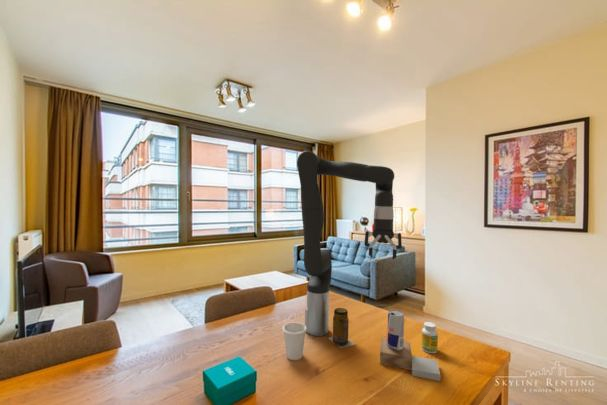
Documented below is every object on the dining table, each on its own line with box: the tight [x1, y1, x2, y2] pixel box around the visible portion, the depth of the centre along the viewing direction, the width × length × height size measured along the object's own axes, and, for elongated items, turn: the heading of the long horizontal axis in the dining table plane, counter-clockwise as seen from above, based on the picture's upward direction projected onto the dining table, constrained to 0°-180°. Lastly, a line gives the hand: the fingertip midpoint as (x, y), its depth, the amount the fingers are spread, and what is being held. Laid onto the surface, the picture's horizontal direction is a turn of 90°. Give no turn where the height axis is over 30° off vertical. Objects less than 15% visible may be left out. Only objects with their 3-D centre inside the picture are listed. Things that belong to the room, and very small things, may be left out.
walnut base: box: [379, 337, 413, 371], centre depth 96 cm, size 10×10×4 cm
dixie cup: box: [282, 321, 307, 361], centre depth 97 cm, size 8×8×10 cm
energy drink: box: [386, 309, 405, 351], centre depth 96 cm, size 5×5×12 cm
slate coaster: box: [411, 355, 441, 382], centre depth 89 cm, size 8×8×2 cm
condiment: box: [327, 307, 356, 349], centre depth 107 cm, size 7×8×12 cm
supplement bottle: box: [421, 321, 439, 354], centre depth 101 cm, size 5×5×10 cm
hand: (382, 257), depth 110 cm, fingers open, 8 cm apart
